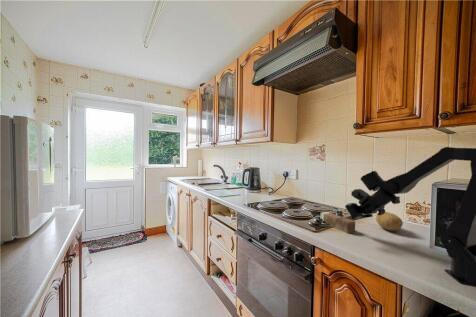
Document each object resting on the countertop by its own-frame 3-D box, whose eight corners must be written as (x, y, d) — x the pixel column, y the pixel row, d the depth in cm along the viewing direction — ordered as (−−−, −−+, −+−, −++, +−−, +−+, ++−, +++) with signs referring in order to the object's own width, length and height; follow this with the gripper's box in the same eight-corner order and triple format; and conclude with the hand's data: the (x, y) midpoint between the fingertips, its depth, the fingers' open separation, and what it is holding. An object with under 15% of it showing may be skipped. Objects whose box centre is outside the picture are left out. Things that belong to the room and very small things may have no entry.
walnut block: (355, 221, 93) (327, 211, 108) (347, 222, 91) (320, 212, 106) (354, 232, 93) (327, 221, 108) (347, 233, 91) (320, 222, 106)
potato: (390, 225, 105) (391, 210, 104) (408, 235, 91) (409, 218, 90) (370, 223, 106) (370, 208, 106) (384, 233, 92) (385, 216, 92)
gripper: (379, 183, 90) (355, 202, 101) (350, 184, 83) (327, 204, 94) (398, 205, 83) (370, 222, 94) (368, 208, 76) (341, 227, 86)
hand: (352, 218), depth 92 cm, fingers closed
